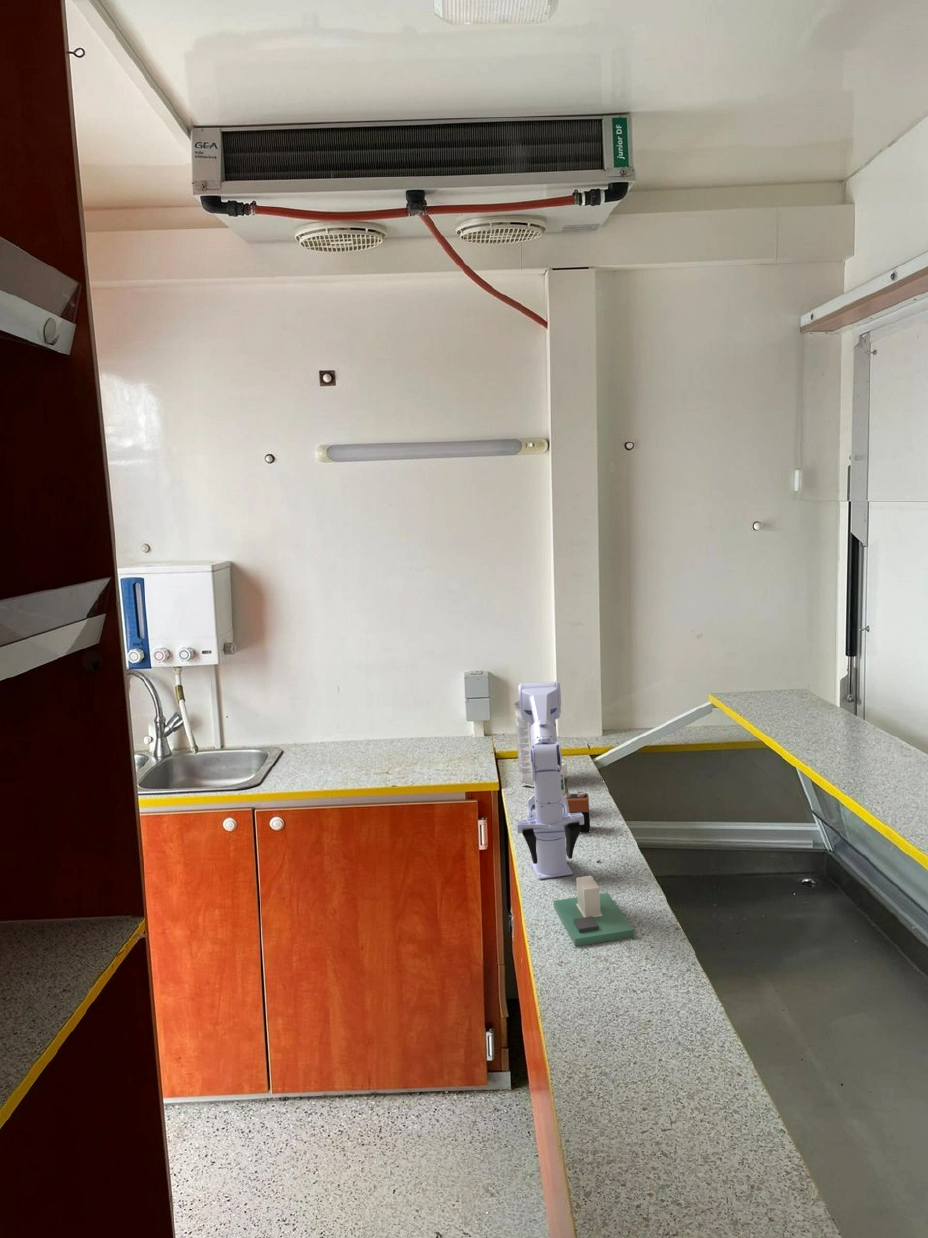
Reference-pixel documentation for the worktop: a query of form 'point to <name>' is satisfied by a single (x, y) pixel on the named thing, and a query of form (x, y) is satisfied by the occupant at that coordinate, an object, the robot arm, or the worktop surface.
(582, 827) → the battery
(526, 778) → the juice carton
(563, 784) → the syrup box
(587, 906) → the block
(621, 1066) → the worktop surface
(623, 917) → the circuit board
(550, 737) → the robot arm
